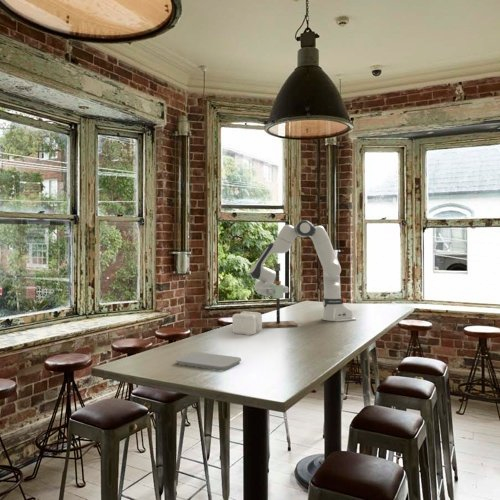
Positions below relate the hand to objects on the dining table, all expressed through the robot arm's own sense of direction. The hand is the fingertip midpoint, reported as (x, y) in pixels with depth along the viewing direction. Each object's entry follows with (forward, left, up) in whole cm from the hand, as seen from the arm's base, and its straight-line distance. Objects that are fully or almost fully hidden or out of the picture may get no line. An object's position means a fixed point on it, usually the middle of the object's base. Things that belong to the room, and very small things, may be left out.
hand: (278, 291), depth 282 cm
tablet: (+48, +77, -22) cm, 94 cm away
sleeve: (0, -1, -4) cm, 4 cm away
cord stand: (0, -1, -21) cm, 21 cm away
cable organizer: (+22, +17, -22) cm, 35 cm away
